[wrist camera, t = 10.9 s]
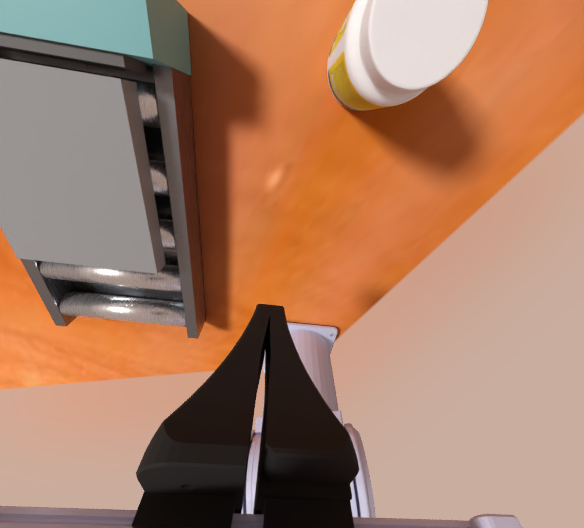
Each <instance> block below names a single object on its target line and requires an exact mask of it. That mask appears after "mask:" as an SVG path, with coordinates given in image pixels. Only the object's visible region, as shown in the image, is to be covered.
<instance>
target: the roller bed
mask: <svg viewBox="0 0 584 528" xmlns="http://www.w3.org/2000/svg"><path fill="white" fill-rule="evenodd" d="M0 58H1V59H7V60H13V61H19V62H25V63H30V64H36V65H42V66H48V67H54V68H60V69H66V70H72V71H78V72H83V73H89V74H95V75H101V76H107V77H113V78H119V79H123V80H128V81H132V82H136V85H137V92H138V98H139V104H140V110H141V116H142V122H143V128H144V135H145V141H146V147H147V153H148V159H149V165H150V171H151V177H152V184H153V190H154V196H155V202H156V208H157V214H158V220H159V227H160V233H161V239H162V245H163V251H164V257H165V263H166V265H165V266H164V267H163V268H162V269H161V270H160V271H159V273H158V274H154V273H145V272H136V271H127V270H118V269H109V268H100V267H91V266H83V265H74V264H65V263H56V262H47V261H38V260H29V259H21V261H22V263H23V265H24V266H25V268H26V270H27V272H28V274H29V276H30V278H31V280H32V281H33V283H34V285H35V287H36V289H37V291H38V293H39V295H40V296H41V298H42V300H43V302H44V304H45V306H46V308H47V310H48V311H49V313H50V315H51V317H52V319H53V321H54V323H55V325H58V326H67V325H69V324H70V323H71V322H72V321H73V320H74V319H75V318H76V317H77V316H78V317H88V318H99V319H109V320H120V321H130V322H140V323H151V324H161V325H172V326H182V327H187V334H188V338H198V337H199V335H200V332H201V330H202V328H203V325H204V323H205V321H206V309H205V294H204V279H203V264H202V249H201V234H200V219H199V204H198V189H197V174H196V159H195V144H194V129H193V114H192V99H191V84H190V75H188V74H185V73H183V72H181V71H179V70H176V69H174V68H172V67H167V66H161V65H156V64H153V68H148V67H146V73H147V74H143V73H137V72H131V71H126V70H120V69H114V68H108V67H102V66H97V65H91V64H85V63H79V62H73V61H68V60H62V59H56V58H50V57H45V56H39V55H33V54H27V53H21V52H16V51H10V50H4V49H0Z"/></svg>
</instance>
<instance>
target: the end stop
mask: <svg viewBox="0 0 584 528" xmlns="http://www.w3.org/2000/svg"><path fill="white" fill-rule="evenodd" d="M0 49H4V50H10V51H16V52H21V53H27V54H33V55H39V56H45V57H50V58H56V59H62V60H68V61H73V62H79V63H85V64H91V65H97V66H102V67H108V68H114V69H120V70H126V71H131V72H137V73H143V74H147V73H146V67H148V68H153V64H156V65H161V66H167V67H172V68H174V69H176V70H179V71H181V72H183V73H185V74H188V75H190V76H191V61H190V45H189V30H188V14H187V11H186V10H185V9H184V8H183V7H182V5H181V4H180V3H179V2H178V1H177V0H0Z"/></svg>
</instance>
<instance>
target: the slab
mask: <svg viewBox="0 0 584 528" xmlns="http://www.w3.org/2000/svg"><path fill="white" fill-rule="evenodd" d="M0 227H1V229H2V231H3V233H4V234H5V236H6V238H7V240H8V242H9V244H10V246H11V247H12V249H13V251H14V253H15V255H16V257H17V258H20V259H29V260H38V261H47V262H56V263H65V264H74V265H83V266H91V267H100V268H109V269H118V270H127V271H136V272H145V273H154V274H158V273H159V271H160V270H161V269H162V268H163V267H164V266H165V265H166V263H165V257H164V251H163V245H162V239H161V233H160V227H159V220H158V214H157V208H156V202H155V196H154V190H153V184H152V177H151V171H150V165H149V159H148V153H147V147H146V141H145V135H144V128H143V122H142V116H141V110H140V104H139V98H138V92H137V85H136V82H132V81H128V80H123V79H119V78H113V77H107V76H101V75H95V74H89V73H83V72H78V71H72V70H66V69H60V68H54V67H48V66H42V65H36V64H30V63H25V62H19V61H13V60H7V59H1V58H0Z"/></svg>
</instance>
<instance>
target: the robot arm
mask: <svg viewBox="0 0 584 528" xmlns="http://www.w3.org/2000/svg"><path fill="white" fill-rule="evenodd" d="M337 333H338V331H337V328H336V327H329V326H319V325H309V324H299V323H290V322H287V321H286V317H285V311H284V307H283V306H276V305H266V304H258V305H257V307H256V310H255V312H254V314H253V317H252V319H251V320H250V322H249V324H248V326H247V328H246V329H245V331H244V333H243V334H242V336H241V338H240V339H239V340H238V342H237V343H236V345H235V346H234V348H233V349H232V351H231V352H230V353H229V355H228V356H227V357H226V358H225V360H224V361H223V362H222V363H221V365H220V366H219V367H218V368H217V369H216V370H215V372H214V373H213V374H212V375H211V376H210V377H209V378H208V379H207V381H206V382H205V383H204V384H203V385H202V386H201V387H200V388H199V389H198V390H197V391H196V392H195V393H194V394H193V395H192V396H191V397H190V398H189V399H188V400H187V401H186V402H184V403H183V404H182V405H181V406H180V407H179V408H178V409H177V410H175V411H174V412H173V413H172V414H171V415H170V416H169V417H168V418H166V419H165V420H164V421H163V423H162V424H161V425H160V427H159V428H158V430H157V432H156V433H155V435H154V437H153V438H152V440H151V442H150V444H149V445H148V447H147V449H146V451H145V453H144V456H143V459H142V460H141V463H140V465H139V467H138V470H137V472H136V475H137V478H138V481H139V482H140V484H141V486H142V487H143V489H144V491H145V492H144V494H143V497H142V499H141V502H140V504H139V507H138V510H110V509H79V508H48V507H15V506H0V528H522V526H521V525H520V523H519V521H518V519H517V518H516V517H515V516H514V515H498V514H497V515H496V514H483V515H478V516H475V517H473V518H471V519H470V521H457V520H426V519H393V518H375V507H374V500H373V494H372V487H371V481H370V476H369V470H368V466H367V461H366V456H365V452H364V448H363V444H362V441H361V437H360V434H359V432H358V431H357V430H356V429H355V428H353V426H352V425H351V424H349V423H348V424H344V426H343V421H342V415H341V411H339V410H338V404H337V398H336V392H335V386H334V379H333V374H332V367H331V361H330V353H331V350H332V347H333V344H334V341H335V338H336V335H337ZM264 355H265V357H264ZM263 360H264V365H263ZM262 365H263V373H264V374H265V396H264V406H263V415H262V416H261V417H257V420H256V429H255V430H252V425H253V416H254V408H255V400H256V394H257V389H258V384H259V379H260V374H261V369H262Z"/></svg>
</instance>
